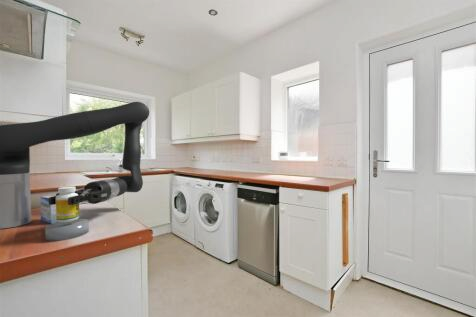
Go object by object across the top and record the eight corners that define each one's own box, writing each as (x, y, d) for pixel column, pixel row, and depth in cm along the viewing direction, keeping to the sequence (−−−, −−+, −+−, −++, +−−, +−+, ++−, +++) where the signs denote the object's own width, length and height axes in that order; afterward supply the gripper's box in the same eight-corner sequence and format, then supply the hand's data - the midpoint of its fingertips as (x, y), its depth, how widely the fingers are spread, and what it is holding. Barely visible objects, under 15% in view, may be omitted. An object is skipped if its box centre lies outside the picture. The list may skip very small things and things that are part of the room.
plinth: (35, 240, 60) (35, 229, 60) (67, 228, 70) (67, 218, 70) (69, 241, 59) (68, 230, 59) (96, 228, 69) (96, 219, 69)
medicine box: (40, 221, 78) (39, 196, 78) (55, 217, 82) (54, 194, 82) (51, 224, 74) (50, 198, 74) (66, 220, 78) (65, 196, 78)
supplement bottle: (56, 219, 65) (55, 187, 64) (78, 216, 68) (77, 185, 68) (56, 224, 61) (54, 189, 60) (80, 220, 64) (78, 187, 64)
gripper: (83, 180, 79) (35, 188, 62) (120, 180, 78) (82, 188, 61) (84, 201, 79) (36, 214, 62) (121, 201, 78) (83, 215, 61)
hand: (59, 201), depth 62 cm, fingers closed on supplement bottle, 5 cm apart
